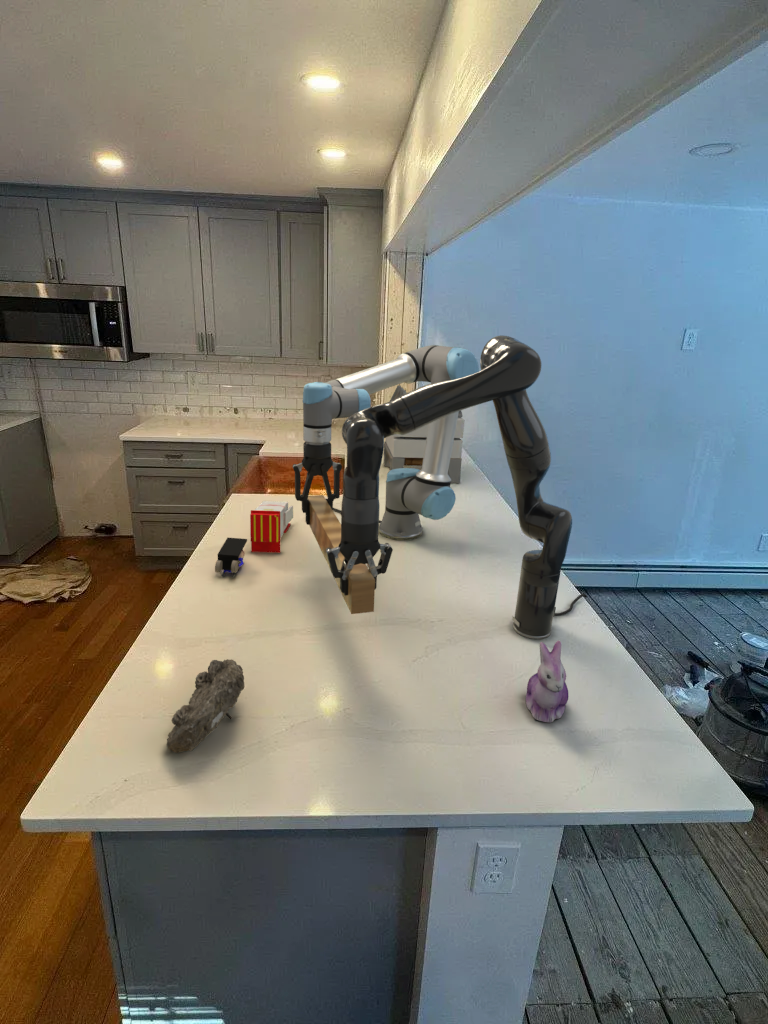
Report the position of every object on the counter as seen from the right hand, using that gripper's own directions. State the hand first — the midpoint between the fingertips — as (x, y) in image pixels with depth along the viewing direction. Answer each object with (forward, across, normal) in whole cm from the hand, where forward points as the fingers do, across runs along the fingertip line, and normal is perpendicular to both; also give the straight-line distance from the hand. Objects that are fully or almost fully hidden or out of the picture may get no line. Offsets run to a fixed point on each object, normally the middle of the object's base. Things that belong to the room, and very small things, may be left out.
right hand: (358, 592), depth 118 cm
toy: (+19, -10, +79) cm, 82 cm away
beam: (+3, 0, +23) cm, 23 cm away
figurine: (+19, +34, -22) cm, 45 cm away
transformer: (+19, +68, +146) cm, 162 cm away
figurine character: (+19, -24, +55) cm, 63 cm away
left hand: (+2, 0, +47) cm, 47 cm away
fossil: (+19, -30, -9) cm, 37 cm away
